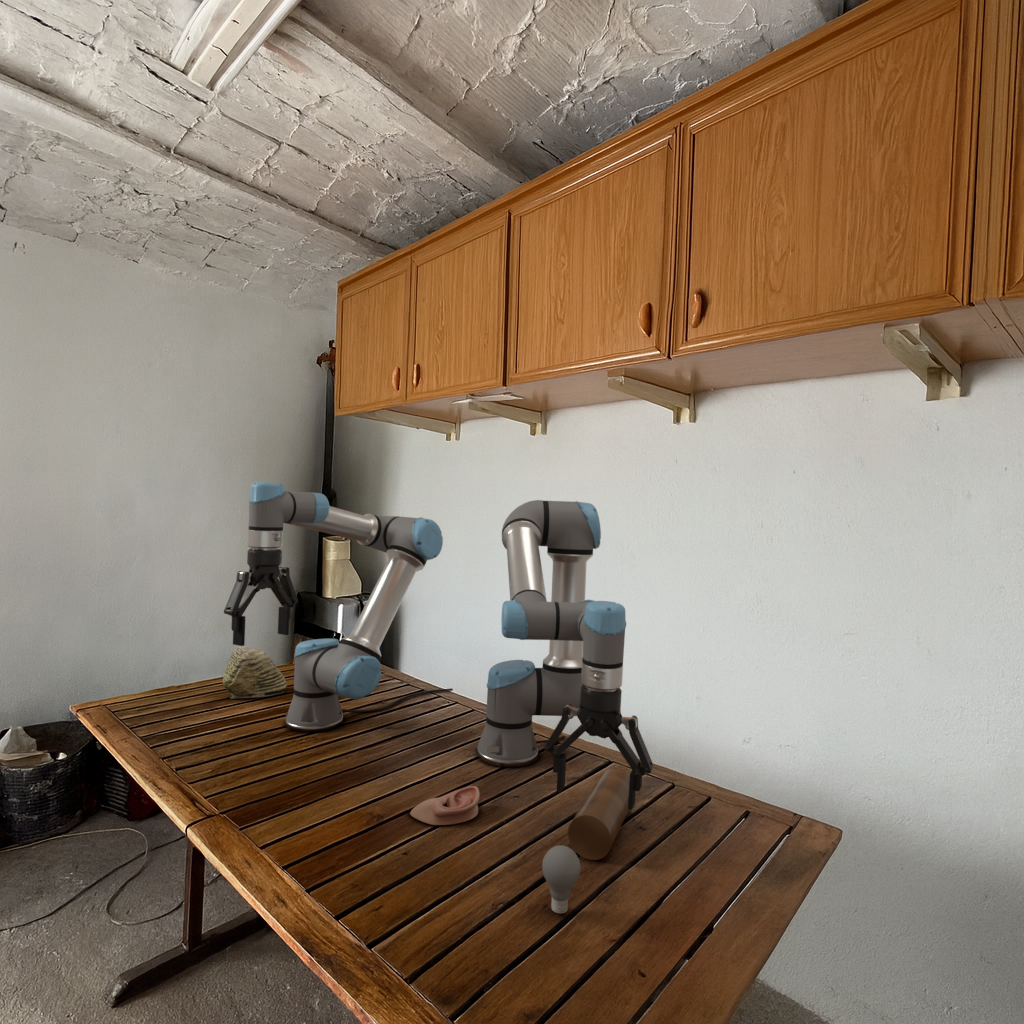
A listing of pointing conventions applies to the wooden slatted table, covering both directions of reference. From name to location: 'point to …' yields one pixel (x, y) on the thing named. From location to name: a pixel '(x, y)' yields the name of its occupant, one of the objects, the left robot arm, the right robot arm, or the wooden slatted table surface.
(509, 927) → the wooden slatted table surface
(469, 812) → the anatomical model
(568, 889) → the light bulb
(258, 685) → the fossil
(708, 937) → the wooden slatted table surface
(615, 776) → the brown wooden cylinder
